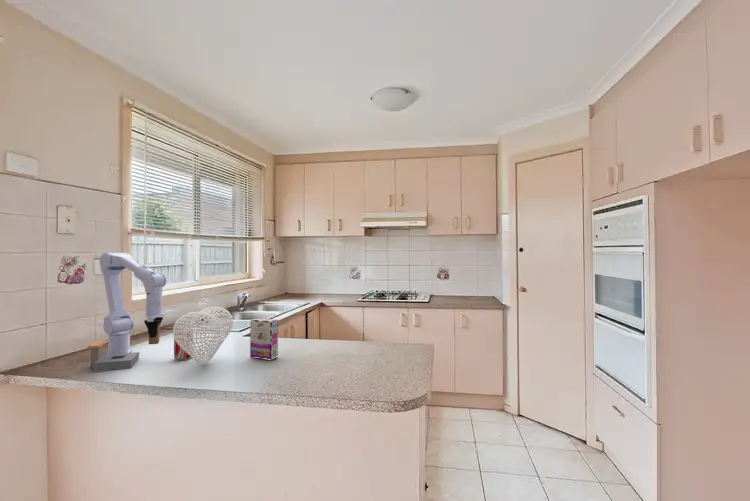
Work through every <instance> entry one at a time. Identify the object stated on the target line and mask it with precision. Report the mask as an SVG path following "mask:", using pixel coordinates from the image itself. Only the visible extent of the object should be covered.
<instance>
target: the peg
mask: <svg viewBox="0 0 750 501" xmlns="http://www.w3.org/2000/svg"><path fill="white" fill-rule="evenodd" d="M160 327H161V324H160V323H159V325H158V329H157V334H156V337H151V338H150V337H149V336H148V345H158V344H159V343H160V329H161V328H160Z"/></svg>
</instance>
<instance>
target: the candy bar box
mask: <svg viewBox="0 0 750 501" xmlns="http://www.w3.org/2000/svg"><path fill="white" fill-rule="evenodd" d="M278 334H279V320H278V319H271V318H258V317H257V318H254V319H253V318H252V319H250V335H249V336H250V338H249V340H250V341H249V342H250V343H249V344H250V346H249V347H250V350H249V351H250V352H249V356H250V357H260V358H267V359H272V358H274V357H276V356H278V353H279V352H278V349H279V348H278V347H279V345H278V344H279V335H278Z"/></svg>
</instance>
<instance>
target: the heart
mask: <svg viewBox="0 0 750 501" xmlns="http://www.w3.org/2000/svg"><path fill="white" fill-rule="evenodd" d="M202 319H203V321H202ZM233 324H234V317H233V315H232V314H231V312H230V311H229V310H228V309H226V308H224V307H221V306H218V305H215V306H214V305H213V306H212V305H211V306H207V307H204V308H203V309H201V310H199V311H191V312H187V313H184V314H183V315H182V316H180V317H179V318H177V319H176V321H175V322H174V324H173V327H172V334H173V340H174V339H175V341H176V342H177V344H178V345H179V346H180V347H181V348H182V349H183V350H184V351H185V352H186V353H188V354H189V355H190V356H191V357H190V358H192V359H193V361H195V362H196V363H197V364H198V365H201V366H206V365H208V364H209V362H211V361H212V360H213V357H214V356H215V354H216V353H217V351H219V348H220V347H221V345H223V343H224V341H225V340H226V339H227V337H228V336H229V335H230V333H231V331H232V328H233ZM180 329H181V331H180ZM184 329H185V331H184ZM187 329H188V331H187ZM177 330H178V331H177ZM189 331H190V332H189ZM191 331H192V332H191ZM175 333H176V335H175ZM177 333H178V336H177ZM179 333H180V334H181V336H180V334H179ZM182 333H183V336H182ZM187 333H188V335H187ZM189 333H190V334H189ZM184 334H185V338H184ZM191 334H192V335H191ZM189 335H191V338H190V336H189ZM187 336H188V338H187ZM202 336H203V337H202ZM176 338H177V339H176ZM178 339H179V340H178ZM180 339H181V340H180ZM183 339H184V340H183ZM190 339H192V341H191V340H190ZM186 340H187V342H186ZM188 340H189V343H188ZM181 341H182V342H181ZM183 341H184V342H185V343H184V342H183ZM191 342H193V343H191ZM187 344H188V345H187ZM189 344H190V345H189ZM192 344H193V345H192ZM199 344H200V345H199ZM185 345H186V347H185ZM188 346H189V347H188ZM183 347H184V348H183ZM189 348H190V349H191V350H190V349H189ZM187 349H188V350H187ZM188 351H189V352H188ZM191 351H192V352H191ZM190 353H191V354H190Z"/></svg>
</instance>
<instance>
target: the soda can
mask: <svg viewBox="0 0 750 501" xmlns="http://www.w3.org/2000/svg"><path fill="white" fill-rule="evenodd" d="M177 331H178V329H177ZM180 331H181V328H180ZM184 331H185V328H184ZM187 331H188V328H187ZM189 332H190V331H189ZM191 332H192V331H191ZM179 334H180V333H179ZM189 334H190V333H189ZM175 335H176V333H175ZM187 335H188V333H187ZM191 335H192V334H191ZM191 335H189V336H190V338H191ZM177 336H178V333H177ZM180 336H181V334H180ZM182 336H183V333H182ZM184 338H185V334H184ZM187 338H188V336H187ZM176 339H177V338H176ZM178 340H179V339H178ZM180 340H181V339H180ZM183 340H184V339H183ZM190 340H191V341H192V339H190ZM181 342H182V341H181ZM183 342H184V341H183ZM186 342H187V340H186ZM184 343H185V342H184ZM188 343H189V340H188ZM191 343H193V342H191ZM187 345H188V344H187ZM189 345H190V344H189ZM192 345H193V344H192ZM193 346H194V345H193ZM185 347H186V345H185ZM188 347H189V346H188ZM183 348H184V347H183ZM189 349H190V348H189ZM187 350H188V349H187ZM190 350H191V349H190ZM188 352H189V351H188ZM191 352H192V351H191ZM190 354H191V353H190ZM173 358H174V359H175V360H177V361H187V360H189V359H190V358H192V357H191V356H190V355H189V354H188V353H186V352H185V351H184V350H183V349H182V348H181V347H180V346H179V345H178V344H177V342H176V341H175V339H174V338H173Z"/></svg>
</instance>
